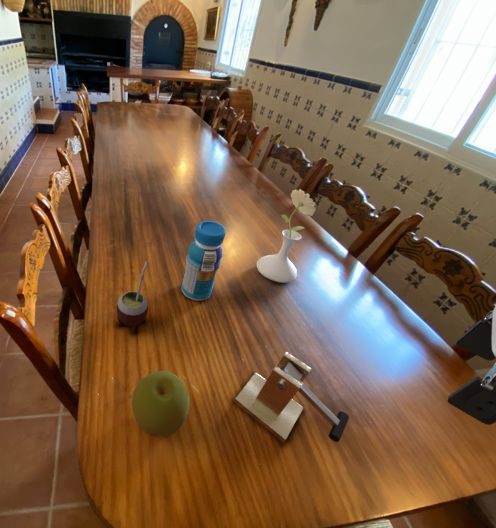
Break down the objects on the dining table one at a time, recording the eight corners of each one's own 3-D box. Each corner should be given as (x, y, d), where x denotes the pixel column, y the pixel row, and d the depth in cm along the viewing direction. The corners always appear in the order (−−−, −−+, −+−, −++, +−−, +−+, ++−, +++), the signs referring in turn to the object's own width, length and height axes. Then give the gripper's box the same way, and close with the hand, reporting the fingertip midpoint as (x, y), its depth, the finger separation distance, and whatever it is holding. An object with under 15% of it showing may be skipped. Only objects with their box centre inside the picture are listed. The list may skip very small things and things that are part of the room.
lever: (341, 420, 49) (353, 417, 47) (331, 443, 46) (344, 441, 44) (283, 361, 52) (292, 356, 50) (270, 379, 49) (280, 375, 48)
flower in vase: (301, 286, 84) (344, 208, 68) (262, 286, 83) (297, 206, 67) (282, 258, 94) (316, 184, 78) (248, 257, 93) (275, 182, 78)
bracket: (301, 410, 56) (332, 374, 48) (283, 442, 52) (314, 408, 43) (253, 375, 61) (274, 336, 53) (233, 401, 57) (253, 364, 49)
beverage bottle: (174, 292, 79) (186, 228, 66) (189, 276, 85) (203, 214, 72) (202, 307, 75) (220, 242, 63) (216, 289, 81) (235, 226, 68)
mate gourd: (119, 337, 67) (120, 289, 57) (114, 311, 72) (113, 263, 63) (151, 332, 68) (157, 284, 59) (143, 307, 74) (147, 260, 65)
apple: (160, 380, 59) (166, 347, 52) (196, 419, 54) (208, 389, 47) (119, 412, 54) (120, 380, 47) (155, 459, 48) (162, 431, 41)
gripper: (849, 356, 13) (521, 477, 24) (700, 226, 23) (515, 352, 34) (599, 274, 17) (413, 410, 28) (563, 192, 27) (436, 316, 38)
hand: (469, 378), depth 31 cm, fingers open, 9 cm apart
